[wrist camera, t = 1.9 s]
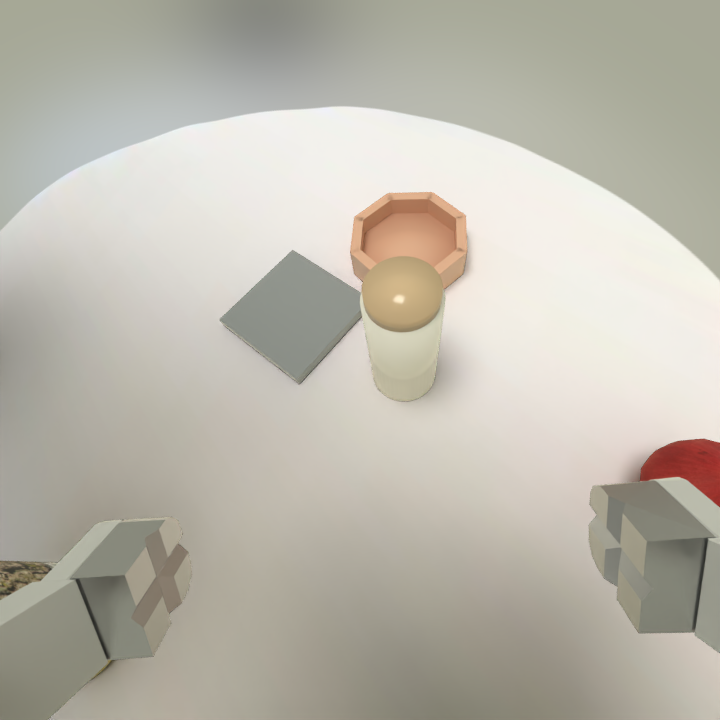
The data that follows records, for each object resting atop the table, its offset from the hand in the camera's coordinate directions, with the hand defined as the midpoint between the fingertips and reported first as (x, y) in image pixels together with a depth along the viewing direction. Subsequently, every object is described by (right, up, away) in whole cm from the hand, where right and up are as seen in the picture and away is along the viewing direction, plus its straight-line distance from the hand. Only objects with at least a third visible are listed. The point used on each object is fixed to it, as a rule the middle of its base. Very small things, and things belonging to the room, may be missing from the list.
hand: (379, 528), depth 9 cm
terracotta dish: (+4, +13, +30) cm, 32 cm away
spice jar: (+3, +2, +25) cm, 25 cm away
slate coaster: (-6, +7, +28) cm, 29 cm away
